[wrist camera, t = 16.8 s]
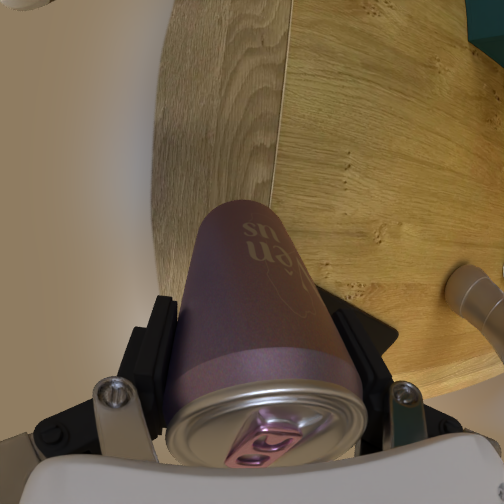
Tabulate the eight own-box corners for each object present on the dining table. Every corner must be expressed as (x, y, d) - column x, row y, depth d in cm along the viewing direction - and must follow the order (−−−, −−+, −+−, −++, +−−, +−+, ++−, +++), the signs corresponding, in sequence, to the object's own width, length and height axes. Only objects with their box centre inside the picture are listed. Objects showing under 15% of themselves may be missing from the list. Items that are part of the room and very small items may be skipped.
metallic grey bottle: (431, 289, 32) (528, 396, 14) (463, 249, 30) (572, 338, 12) (449, 309, 34) (531, 405, 16) (478, 273, 32) (570, 357, 14)
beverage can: (185, 260, 21) (142, 466, 7) (217, 183, 18) (194, 355, 5) (261, 288, 22) (303, 485, 8) (299, 217, 20) (416, 395, 6)
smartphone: (399, 330, 34) (309, 279, 30) (402, 334, 33) (311, 284, 29) (361, 370, 36) (266, 333, 32) (363, 375, 36) (267, 338, 31)
